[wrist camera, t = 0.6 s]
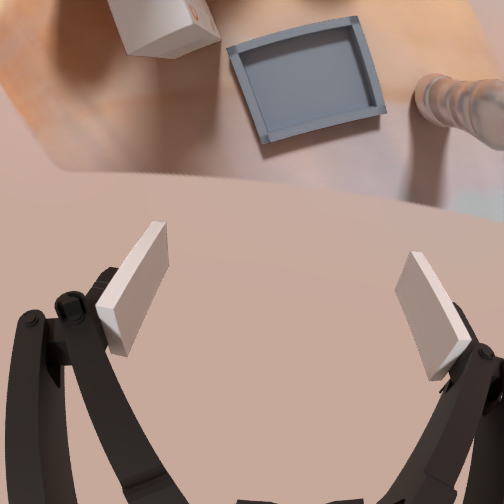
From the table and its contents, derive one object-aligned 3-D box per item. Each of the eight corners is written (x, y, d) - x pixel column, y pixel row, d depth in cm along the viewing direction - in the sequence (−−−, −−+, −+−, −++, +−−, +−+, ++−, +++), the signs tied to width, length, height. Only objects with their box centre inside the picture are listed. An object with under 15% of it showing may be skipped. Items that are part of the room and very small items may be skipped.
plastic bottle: (423, 131, 33) (522, 185, 16) (399, 84, 31) (500, 102, 14) (458, 111, 31) (565, 154, 14) (437, 65, 28) (547, 76, 11)
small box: (153, 9, 28) (100, -13, 17) (201, -13, 26) (165, -48, 15) (173, 61, 32) (125, 56, 20) (222, 41, 30) (195, 23, 19)
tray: (229, 50, 31) (226, 48, 28) (352, 19, 27) (357, 15, 25) (263, 140, 36) (262, 145, 34) (380, 110, 33) (387, 113, 31)
